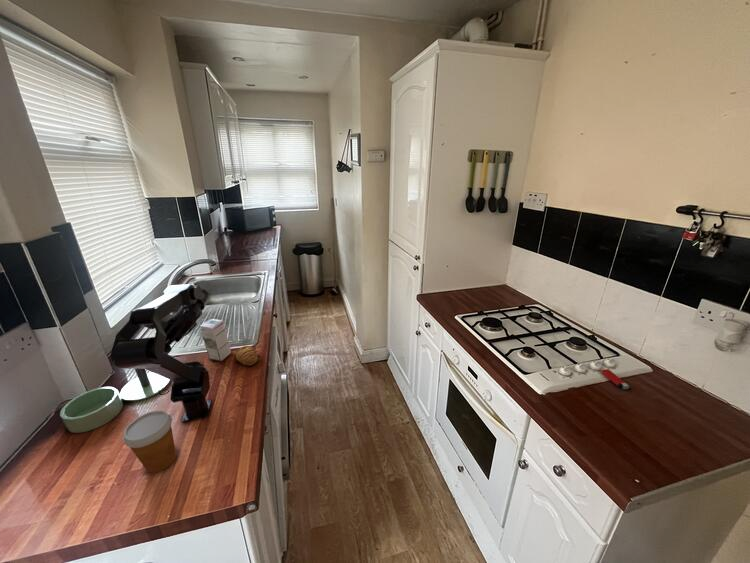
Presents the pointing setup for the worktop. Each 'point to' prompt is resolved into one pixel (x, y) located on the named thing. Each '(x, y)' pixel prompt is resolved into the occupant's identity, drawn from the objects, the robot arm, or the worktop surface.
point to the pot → (91, 409)
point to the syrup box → (215, 339)
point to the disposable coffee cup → (152, 440)
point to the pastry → (247, 355)
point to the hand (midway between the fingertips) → (157, 352)
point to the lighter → (615, 379)
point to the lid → (143, 386)
